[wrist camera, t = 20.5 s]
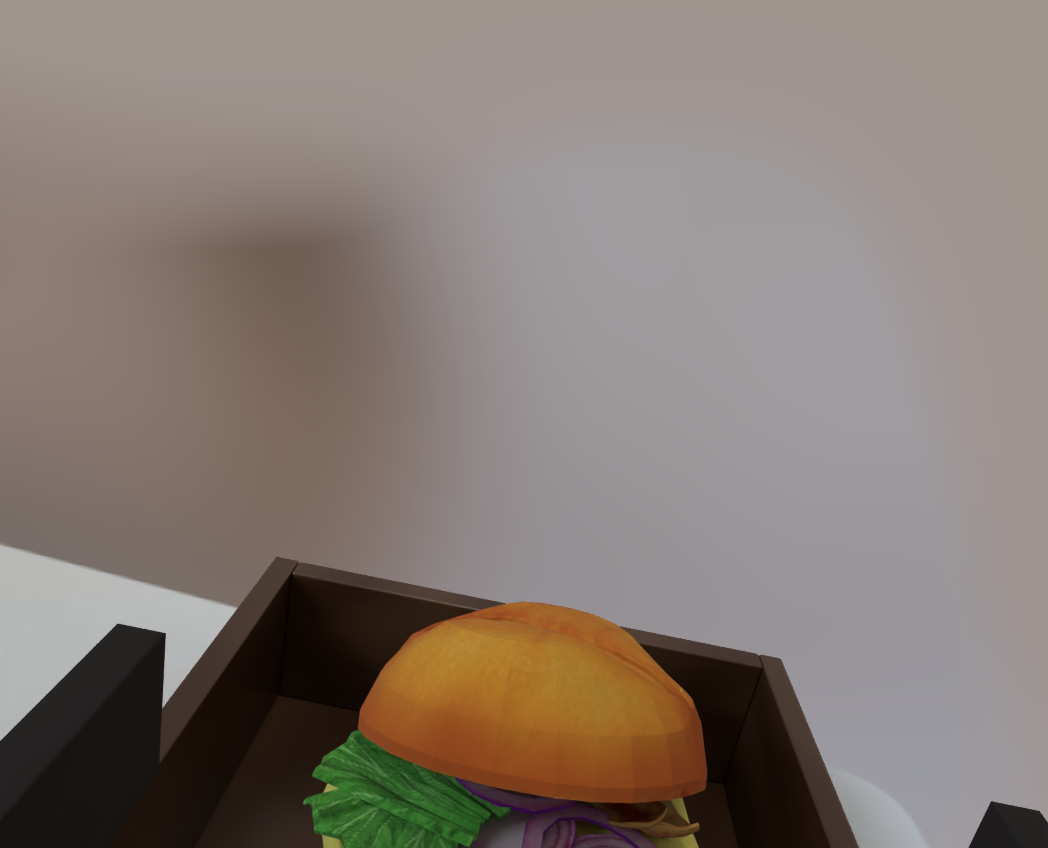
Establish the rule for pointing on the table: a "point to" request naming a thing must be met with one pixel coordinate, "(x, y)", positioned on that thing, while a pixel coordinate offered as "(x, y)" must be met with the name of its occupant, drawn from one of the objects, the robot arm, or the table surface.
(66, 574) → the table surface
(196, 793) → the bin
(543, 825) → the cheeseburger
